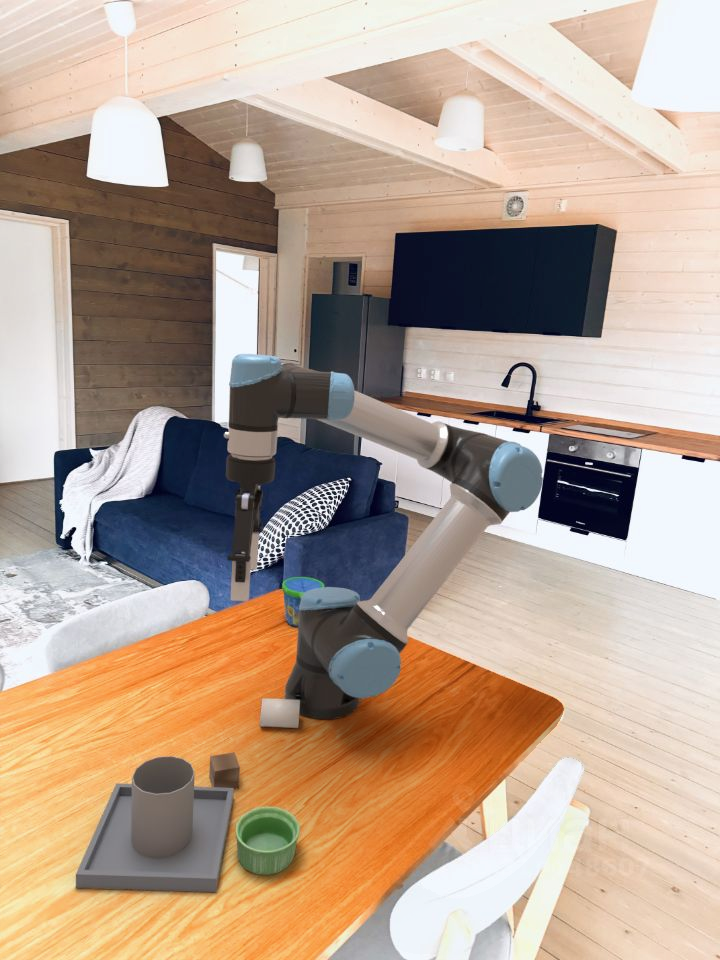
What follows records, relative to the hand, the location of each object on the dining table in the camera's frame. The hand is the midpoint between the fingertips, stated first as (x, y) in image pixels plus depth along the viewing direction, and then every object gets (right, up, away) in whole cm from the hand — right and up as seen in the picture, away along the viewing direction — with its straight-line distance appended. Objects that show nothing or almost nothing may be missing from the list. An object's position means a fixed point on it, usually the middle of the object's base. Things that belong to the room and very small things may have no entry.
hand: (244, 583), depth 112 cm
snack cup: (+4, -19, +62) cm, 65 cm away
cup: (-10, -34, -13) cm, 38 cm away
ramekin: (+5, -37, -14) cm, 40 cm away
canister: (+4, -25, +16) cm, 29 cm away
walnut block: (-3, -32, 0) cm, 33 cm away
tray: (-10, -35, -13) cm, 38 cm away
